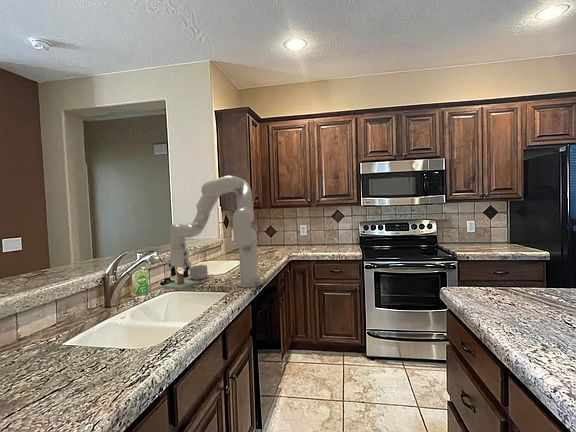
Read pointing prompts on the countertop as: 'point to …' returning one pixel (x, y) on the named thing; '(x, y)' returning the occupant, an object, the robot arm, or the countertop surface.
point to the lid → (180, 283)
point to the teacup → (198, 272)
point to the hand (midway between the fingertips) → (179, 276)
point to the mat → (180, 289)
